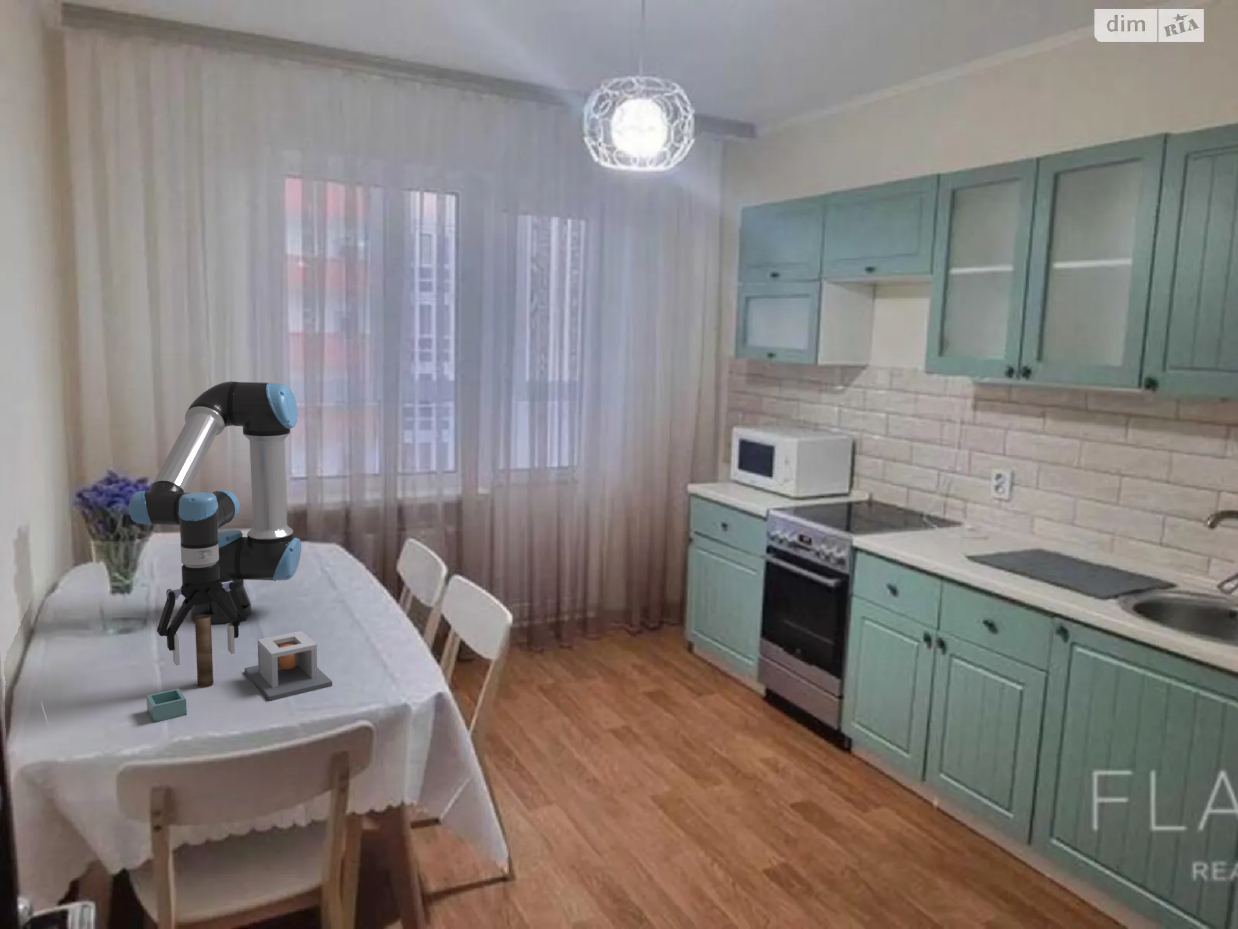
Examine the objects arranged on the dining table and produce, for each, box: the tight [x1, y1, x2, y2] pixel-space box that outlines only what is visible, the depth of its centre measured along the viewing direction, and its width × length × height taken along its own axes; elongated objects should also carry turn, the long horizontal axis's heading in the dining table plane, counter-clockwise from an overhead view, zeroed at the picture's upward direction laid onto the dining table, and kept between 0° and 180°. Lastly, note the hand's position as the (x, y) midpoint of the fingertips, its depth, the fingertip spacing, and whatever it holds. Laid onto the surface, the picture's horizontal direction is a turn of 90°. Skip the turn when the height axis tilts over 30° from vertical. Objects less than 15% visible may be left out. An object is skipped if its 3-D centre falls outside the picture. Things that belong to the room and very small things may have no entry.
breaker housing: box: [244, 630, 333, 702], centre depth 198 cm, size 18×14×9 cm
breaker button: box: [279, 644, 296, 669], centre depth 197 cm, size 4×4×4 cm
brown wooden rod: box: [194, 615, 214, 688], centre depth 192 cm, size 3×3×16 cm
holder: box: [146, 687, 188, 723], centre depth 180 cm, size 6×6×4 cm
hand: (204, 657), depth 193 cm, fingers open, 11 cm apart
